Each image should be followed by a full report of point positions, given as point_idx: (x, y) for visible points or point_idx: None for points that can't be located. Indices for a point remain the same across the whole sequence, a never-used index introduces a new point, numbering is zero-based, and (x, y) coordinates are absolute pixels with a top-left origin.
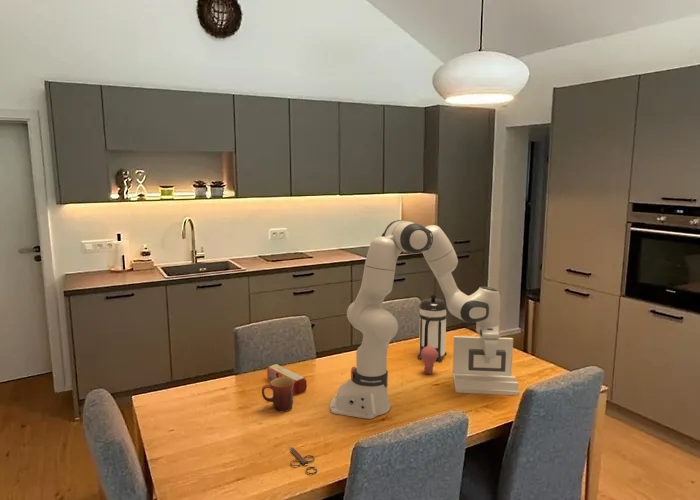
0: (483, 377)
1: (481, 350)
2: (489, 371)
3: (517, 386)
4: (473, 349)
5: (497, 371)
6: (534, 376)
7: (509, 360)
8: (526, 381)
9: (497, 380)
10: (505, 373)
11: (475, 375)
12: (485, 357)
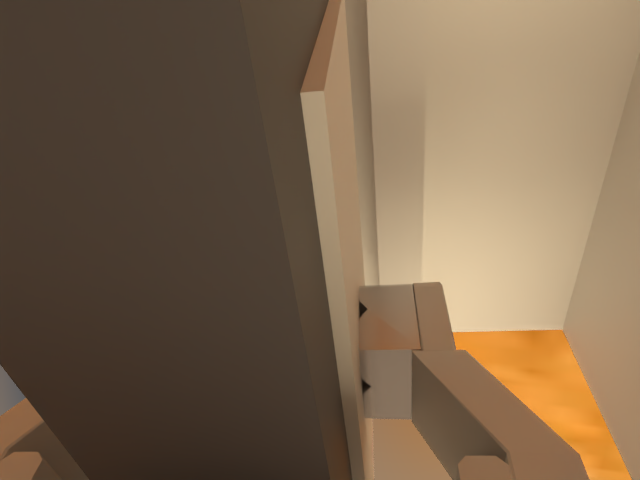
0: (372, 118)
1: (188, 470)
2: (626, 185)
3: None
4: (188, 198)
5: (604, 260)
6: (591, 421)
7: (632, 445)
8: (508, 378)
9: (377, 240)
10: (581, 306)
11: (386, 13)
12: (19, 403)
